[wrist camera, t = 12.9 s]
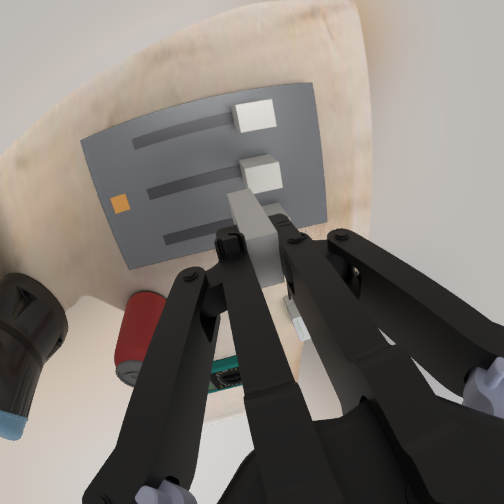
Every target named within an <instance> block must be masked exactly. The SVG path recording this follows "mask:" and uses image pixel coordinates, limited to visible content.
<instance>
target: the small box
mask: <svg viewBox="0 0 504 504" xmlns="http://www.w3.org/2000/svg"><path fill="white" fill-rule="evenodd" d="M284 300H285V303H286V305H287V308H288V311H289V314H290V317H291V320H292V323H293V325H294V328H295V330H296V333H297V335H298V338H299V340H300V342H302V341H305V340H308V339H310V338H311V337H310V335H309V333H308V331H307V328H306V326H305V324H304V322H303V320H302V318H301V316H300V313H299V311H298V309H297V307H296V305H295V303H294V301H293V299H292V297H291V300H289V297H288V296H286V297H284Z"/></svg>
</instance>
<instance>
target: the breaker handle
mask: <svg viewBox="0 0 504 504" xmlns="http://www.w3.org/2000/svg"><path fill="white" fill-rule="evenodd" d="M239 163H240V168H241V173H242V178H243V183H244V185H245V187H246V189H249V188H250V189H251V191H252V192H253V194H256V193H261V192H265V191H270V190H274V189H279V188H283V185H282V179H281V172H280V165H279V162H278V161H277V160H276V159H275V158H273V157H272V156H271V155H269V154H266V155H261V156H256V157H251V158H246V159H241V160H239Z"/></svg>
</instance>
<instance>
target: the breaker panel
mask: <svg viewBox="0 0 504 504" xmlns="http://www.w3.org/2000/svg"><path fill="white" fill-rule="evenodd" d="M80 141H81V145H82V148H83V152H84V155H85V158H86V161H87V165H88V168H89V171H90V174H91V177H92V180H93V183H94V186H95V188H96V191H97V194H98V197H99V200H100V202H101V205H102V208H103V210H104V213H105V215H106V218H107V220H108V223H109V225H110V228H111V230H112V233H113V235H114V237H115V240H116V242H117V244H118V246H119V249H120V251H121V253H122V255H123V258H124V260H125V262H126V264H127V266H128V268H129V270H132V269H135V268H139V267H143V266H147V265H151V264H155V263H159V262H163V261H167V260H171V259H175V258H179V257H183V256H187V255H191V254H195V253H199V252H203V251H207V250H211V249H215V245H214V241H215V239H216V233H217V231H218V229H221V228H225V227H229V226H233V225H234V222H233V218H232V213H231V209H230V205H229V200H228V196H227V194H228V193H232V192H236V191H240V190H244V189H246V187H245V185H244V183H243V178H242V173H241V168H240V163H239V160H241V159H246V158H251V157H256V156H261V155H266V154H269V155H271V156H272V157H273V158H275V159H276V160H277V161H278V162H279V165H280V172H281V179H282V185H283V188H279V189H274V190H270V191H265V192H261V193H256V194H254V196H255V197H256V199H257V200H258V202H259V204H260V205H261V207H262V208H263V210H264V211H265V213H266V215H267V216H271V215H275V214H279V213H281V214H284V215H286V216H287V217H288V218H289V219H290V221H291V222H292V224H293V225H294V226H295V227H296V228H297V229H299V228H303V227H307V226H312V225H316V224H320V223H325V222H327V207H326V193H325V180H324V169H323V159H322V150H321V141H320V132H319V125H318V117H317V110H316V103H315V97H314V90H313V84H312V82H311V83H298V84H287V85H278V86H270V87H263V88H256V89H249V90H243V91H238V92H232V93H227V94H222V95H217V96H212V97H208V98H204V99H199V100H195V101H191V102H187V103H184V104H180V105H176V106H173V107H169V108H166V109H162V110H159V111H156V112H153V113H150V114H147V115H144V116H141V117H138V118H135V119H132V120H129V121H127V122H124V123H121V124H118V125H116V126H113V127H111V128H108V129H106V130H103V131H101V132H99V133H96V134H94V135H92V136H89V137H87V138H85V139H83V140H80Z"/></svg>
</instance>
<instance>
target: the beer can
mask: <svg viewBox="0 0 504 504" xmlns="http://www.w3.org/2000/svg"><path fill="white" fill-rule="evenodd" d="M165 303H166V300H165V299H164V298H163V297H161V296H160V295H158V294H155V293H152V292H141V293H137V294H135V295H133V296H132V297H131V298H130V299H129V301H128V302H127V306H126V309H125V313H124V317H123V321H122V324H121V328H120V332H119V337H118V340H117V345H116V349H115V355H114V362H115V366H116V375H117V377H118V378H119V379H120V380H121V381H122V382H124V383H125V384H127V385H129V386H131V387H134V386H135V383H136V380H137V377H138V375H139V372H140V369H141V366H142V363H143V360H144V358H145V355H146V352H147V349H148V347H149V344H150V341H151V339H152V336H153V333H154V331H155V328H156V326H157V323H158V321H159V318H160V315H161V313H162V310H163V308H164V305H165Z"/></svg>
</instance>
